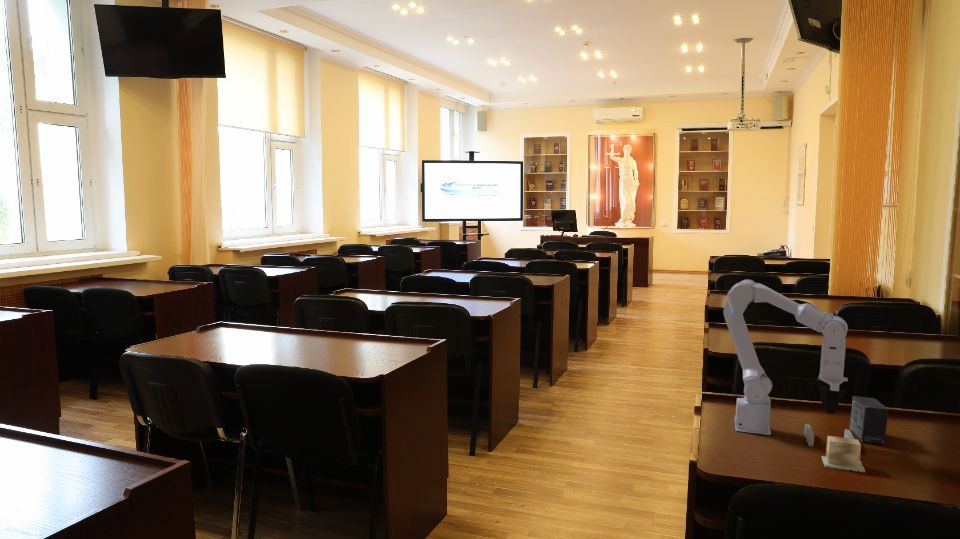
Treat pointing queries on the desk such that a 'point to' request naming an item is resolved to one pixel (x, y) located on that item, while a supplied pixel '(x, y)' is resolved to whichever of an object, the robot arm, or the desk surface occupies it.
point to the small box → (868, 420)
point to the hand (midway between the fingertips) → (828, 409)
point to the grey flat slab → (810, 435)
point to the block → (843, 451)
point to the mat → (860, 469)
